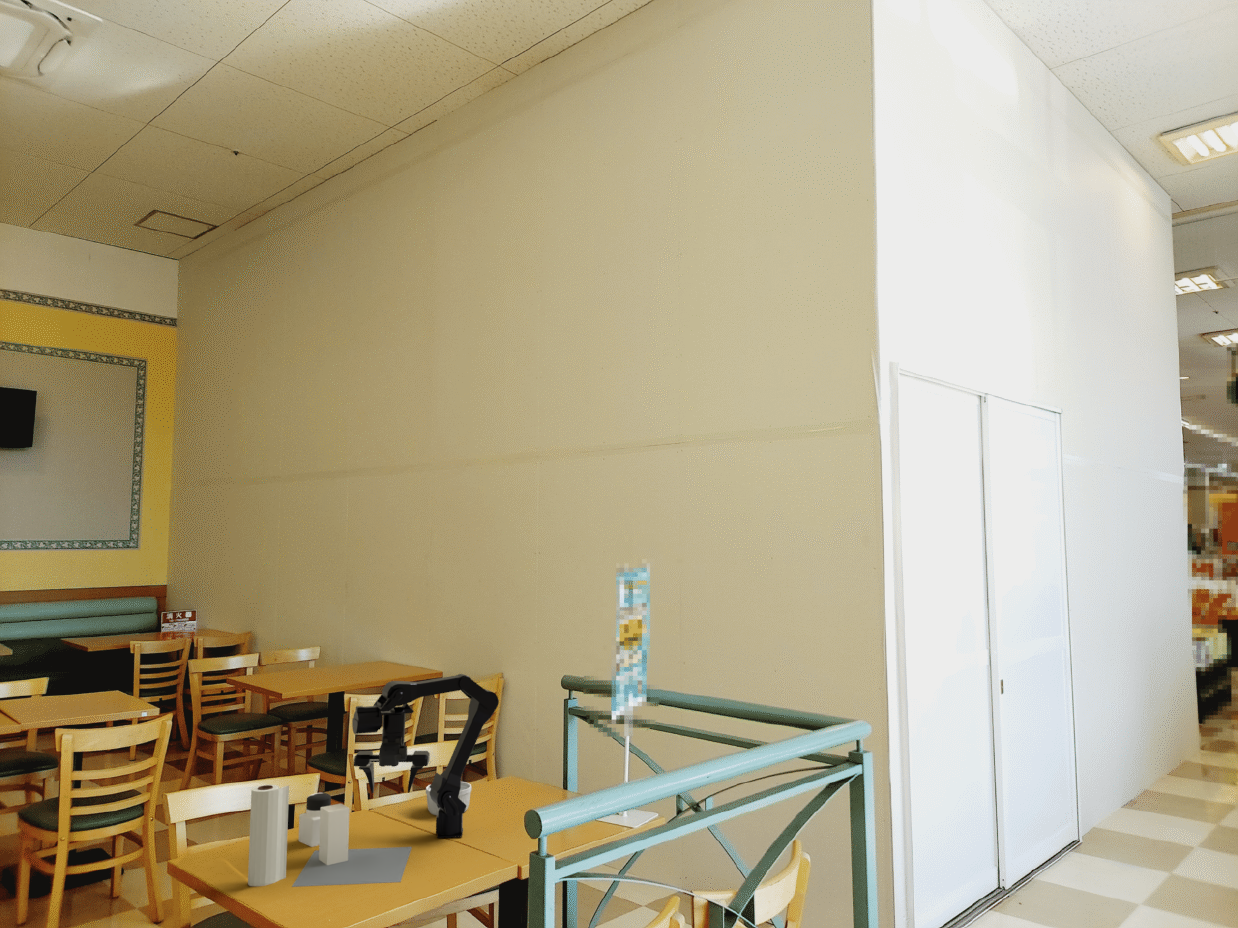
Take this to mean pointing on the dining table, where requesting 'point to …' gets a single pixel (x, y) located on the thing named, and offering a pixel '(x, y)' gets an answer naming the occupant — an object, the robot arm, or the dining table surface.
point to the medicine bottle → (312, 819)
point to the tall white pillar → (334, 834)
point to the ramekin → (463, 796)
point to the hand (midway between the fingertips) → (390, 792)
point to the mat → (356, 868)
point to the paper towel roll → (268, 834)
